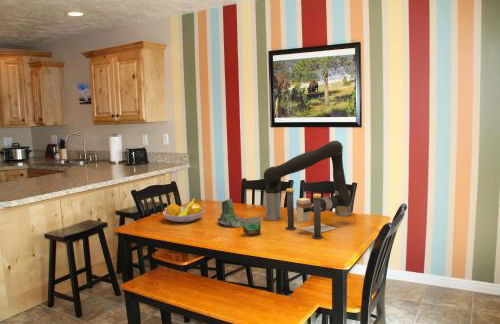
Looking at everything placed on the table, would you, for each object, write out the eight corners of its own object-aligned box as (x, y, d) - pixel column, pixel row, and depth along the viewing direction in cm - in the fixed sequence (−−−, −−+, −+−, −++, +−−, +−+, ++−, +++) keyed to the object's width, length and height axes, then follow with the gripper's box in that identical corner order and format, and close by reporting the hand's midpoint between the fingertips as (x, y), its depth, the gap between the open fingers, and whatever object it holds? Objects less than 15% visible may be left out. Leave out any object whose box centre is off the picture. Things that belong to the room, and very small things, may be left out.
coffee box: (351, 214, 272) (351, 190, 270) (348, 216, 266) (348, 191, 264) (337, 213, 276) (337, 189, 274) (334, 215, 270) (334, 190, 268)
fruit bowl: (184, 227, 252) (183, 209, 251) (154, 221, 269) (153, 204, 267) (215, 217, 274) (214, 200, 273) (185, 212, 291) (185, 196, 289)
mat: (301, 229, 241) (301, 228, 240) (321, 224, 250) (321, 223, 250) (315, 234, 231) (315, 233, 231) (336, 228, 240) (336, 227, 240)
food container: (244, 237, 228) (243, 220, 227) (241, 234, 234) (240, 217, 233) (265, 235, 232) (265, 217, 230) (262, 232, 238) (261, 215, 236)
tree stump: (245, 229, 246) (236, 200, 244) (215, 235, 253) (207, 207, 251) (254, 220, 263) (247, 193, 261) (226, 225, 270) (219, 199, 268)
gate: (283, 228, 243) (282, 188, 240) (291, 226, 247) (290, 187, 244) (317, 240, 221) (316, 196, 218) (325, 237, 224) (325, 194, 221)
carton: (296, 220, 234) (296, 199, 232) (304, 218, 237) (303, 197, 235) (303, 222, 229) (302, 200, 228) (310, 220, 232) (310, 199, 231)
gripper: (313, 196, 246) (291, 200, 236) (331, 200, 234) (308, 205, 224) (313, 209, 246) (291, 213, 237) (331, 213, 235) (309, 218, 225)
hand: (300, 209), depth 231 cm, fingers closed on carton, 5 cm apart
